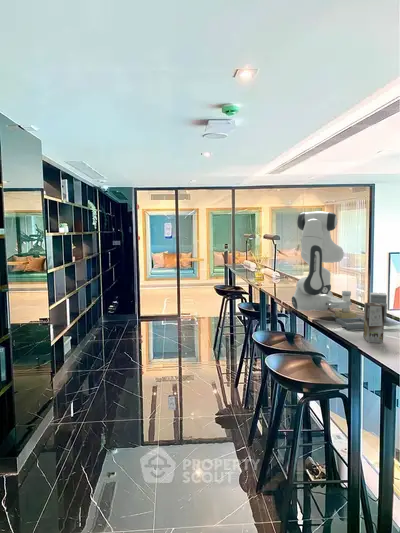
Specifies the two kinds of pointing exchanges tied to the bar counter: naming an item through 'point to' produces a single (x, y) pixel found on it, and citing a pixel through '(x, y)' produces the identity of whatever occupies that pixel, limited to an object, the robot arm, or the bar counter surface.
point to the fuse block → (344, 314)
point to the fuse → (346, 298)
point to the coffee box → (374, 322)
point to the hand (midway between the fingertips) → (346, 301)
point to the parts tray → (351, 325)
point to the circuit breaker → (379, 300)
